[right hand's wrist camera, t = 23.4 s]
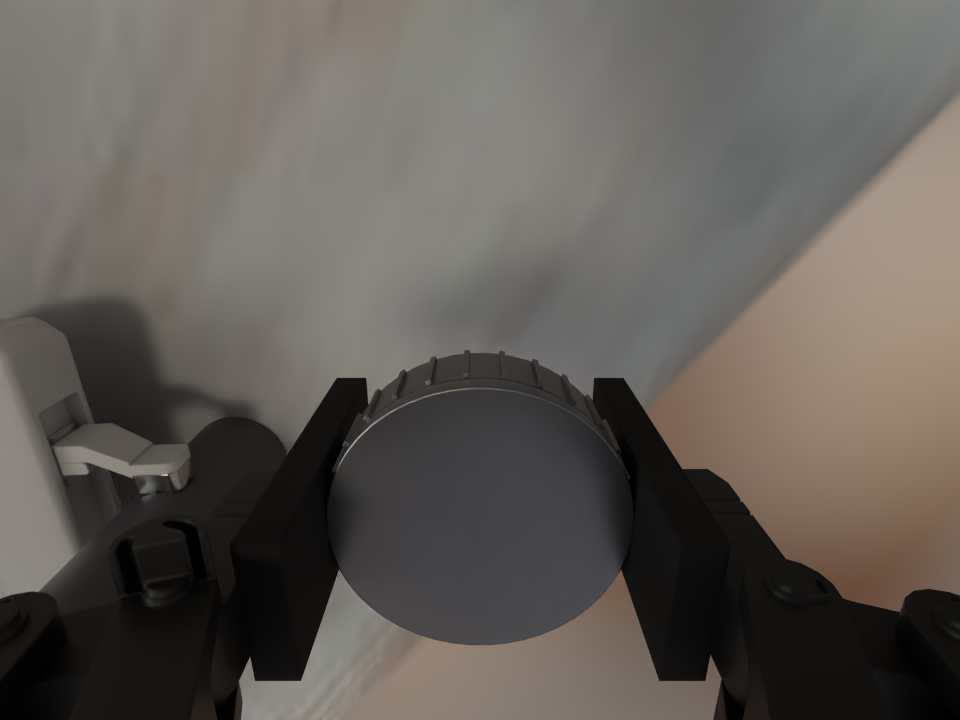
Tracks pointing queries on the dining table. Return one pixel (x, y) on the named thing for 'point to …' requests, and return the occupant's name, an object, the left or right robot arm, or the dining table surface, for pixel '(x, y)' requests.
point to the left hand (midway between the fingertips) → (202, 529)
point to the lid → (480, 501)
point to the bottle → (169, 505)
